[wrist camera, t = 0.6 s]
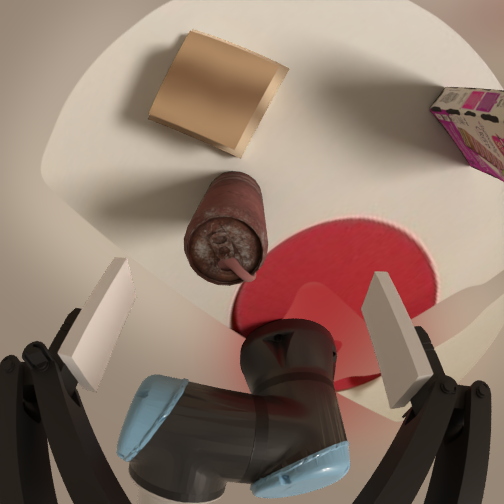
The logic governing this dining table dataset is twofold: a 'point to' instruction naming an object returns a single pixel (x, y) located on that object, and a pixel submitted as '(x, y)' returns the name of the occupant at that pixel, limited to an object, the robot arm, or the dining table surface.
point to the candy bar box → (475, 125)
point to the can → (228, 231)
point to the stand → (217, 92)
